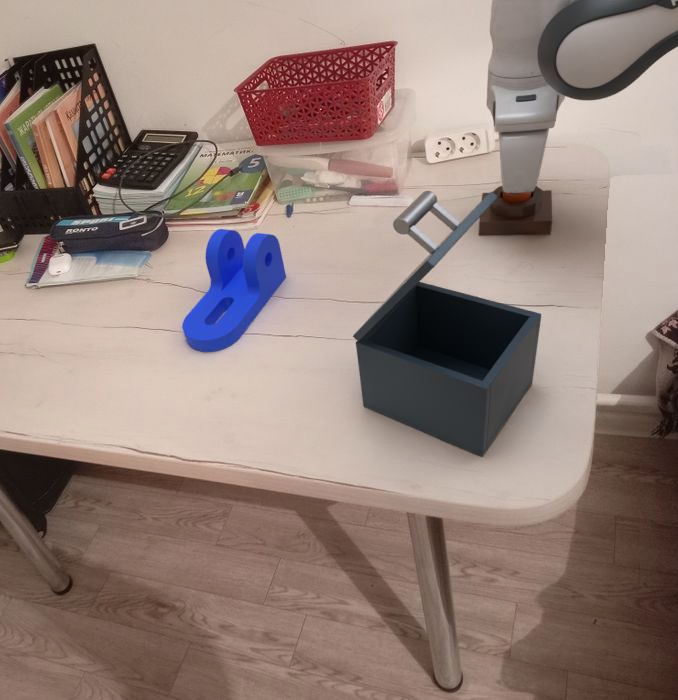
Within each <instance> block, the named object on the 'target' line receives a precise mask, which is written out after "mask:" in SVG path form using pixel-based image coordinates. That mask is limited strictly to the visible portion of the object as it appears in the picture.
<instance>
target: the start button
mask: <svg viewBox="0 0 678 700" xmlns="http://www.w3.org/2000/svg"><path fill="white" fill-rule="evenodd" d="M530 198H531V192H523V193H506V192H504V190H503V193H502V199H503V200H504V201H508V202H512V203H514V202H524V201H527V200H529V199H530Z"/></svg>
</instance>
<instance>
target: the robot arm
mask: <svg viewBox="0 0 678 700" xmlns="http://www.w3.org/2000/svg"><path fill="white" fill-rule="evenodd" d="M489 18H490V19H489V20H490V21H489V35H490V38H491V43H492V44H491V45H492V48H491V49H492V50H491V55H490V58H489V61H488V65H487V84H486V108H487V109H488V111H489V112H490V115H491V117H492V121H493V127H494V129H493V131H494V133H497V134H498V144H499V145H498V147H499V161H500V162H499V163H500V165H499V166H500V177H501V178H500V181H501V186H502V187H503V190H504V192H506V193H523V192H532V191H533V190H534V189H535V187H536V186H538V185H537V184H538V181H539V178H540V174H541V171H542V170H541V169H542V165H543V160H544V155H545V151H546V147H547V141H548V136H549V132H550V129H553V128H555V126H556V121H557V114H558V111H559V110H560V107H561V105H562V104H563V102H564V100H566V99H565V98H569V99H573V100H578V101H589V102H590V101H596V100H597V101H598V100H599V101H600V100H602V99H606V98H609V97H613V96H615V95H617V94H619V93H621V92H623V90H625V89H627V88H628V87H629V86H630V85H632V84H633V83H634V82H636V81H637V80H638V79H639V78H641V76H642V75H643V74H644V73H646V72H647V71H648V69H649V68H651V67H652V66H653V65H654V64H655V63H657V62H658V61H659V60H660V59H661V58H663V57H664V56H665V55H667V54H668V53H670V52H671V51H673V50H674V49H676V48H678V0H491V6H490V17H489Z"/></svg>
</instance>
